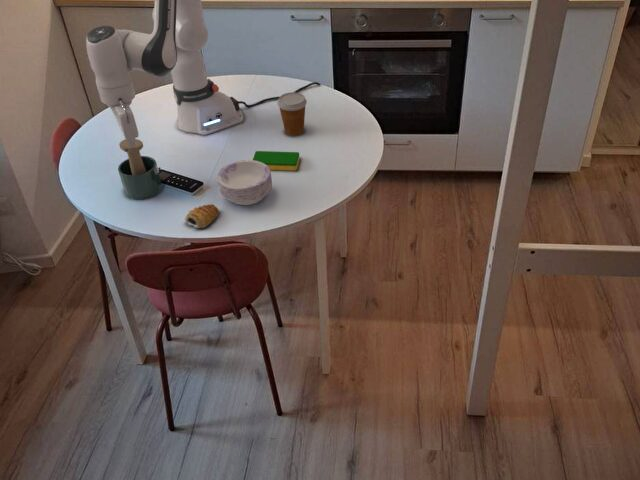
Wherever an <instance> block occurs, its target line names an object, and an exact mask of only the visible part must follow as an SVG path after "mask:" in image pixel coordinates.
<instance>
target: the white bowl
mask: <svg viewBox="0 0 640 480" xmlns="http://www.w3.org/2000/svg"><path fill="white" fill-rule="evenodd" d="M271 171H272V170H270V169H269V167H268V166H267V165H265V164H264V163H262V162H259V161H254V160H253V159H244V160H237V161H233V162H231V163H229V164H228V163H227V165H225V166H224V167H222V168H221V169H220V170H219V171H218V173H217V177H216V180H217V185H218V191H219V193H220V196H222V198H224V199H225V200H227V201H230V202H232V203H234V204H236V205H239V206H250V205H254V204H257V203H259V202H260V201H262V200H263V199H264V197H265V196H267V195H268V194H269V193H270V192H271V190H272V187H273V181H272V172H271Z"/></svg>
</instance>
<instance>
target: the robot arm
mask: <svg viewBox="0 0 640 480" xmlns="http://www.w3.org/2000/svg"><path fill="white" fill-rule="evenodd" d="M153 1H154V8H153V9H152V14H151V15H152V21H153V31H152V32H151V33H145V32H141V31H136V30H131V29H125V28H121V29H117V28H115V27H113V26H112V25H101V26H97V27H94V28H92V29H91V30H89V32H88V33H87V34H86V38H85V46H86V53H87V57H88V61H89V65H90V68H91V71H92V72H93V73H94V76H95V85H96V89H97V92H98V95H99V99H100V101H101V103H102V104H104V105H107V107H108V108H109V109H110V110H111V111H112V114H113V116H114V118H115V120H116V122H117V124H118V126H119V129H120V131H121V133H122V135H123V137H124V140H125V139H127V140H128V144H129V146H130V147H131V148H132V147H136V142H135V139H137V138H139V129H138V126H137V123H136V119H135V115H134V113H133V111H132V108H131V105H132V102H133V100H134V99H135V97H136V92H135V89H134V85H133V81H132V80H133V79H132V77H131V75H130V71H132V70H134V71H140V72H144V73H146V74H150V75H153V76H156V77H160V78H161V77H164V76H166V75H168V74H170V75H171V79H172V84H173V85H172V89H173V90H172V91H173V92H172V93H173V96H174V101H175V103H176V106H177V124H176V125H177V128H178V129H179V130H181V131H183V132H185V133H191V134H199V135H203V136H206V135H207V136H208V135H210V134H212V133H215V132H218V131H221V130H223V129H226V128H229V127H232V126H234V125H237V124H240V123H243V121H244V115H243V112H242V110H241V109H240V104H242V105H244V106H245V108H252V107H255V106H258V105H261V104H262V103H265V102H268V101H273V100H279V97H280V96H281V95H280V96H273V97H272V96H271V97H267V98H264V99H262V100H260V101H258V102H256V103H253V104H247V103H246V102H245V101H243V100H238V99H236V98H235V97H233V96H228V95H227V94H226V93H224V92H221V91H219V90H220V88H219V86H218V85H217V84H215V82H214V81H212V80H211V79H210V78H208V74H207V69H206V64H205V63H206V62H205V59H204V56H203V54H202V52H201V50H202V49H203V48H205V46H206V45H207V43H208V39H209V32H208V28H207V26H206V23H205V18H204V12H203V4H202V0H153ZM314 85H317V86H321V83H319V82H317V81H313V82H310V83H308V84H306V85H303V86H302V87H300V88H297V89H296V90H295V91H294V92H295V93H300V91H302V90H305V89H307V88H308V87H311V86H314Z"/></svg>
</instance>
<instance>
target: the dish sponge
mask: <svg viewBox="0 0 640 480" xmlns="http://www.w3.org/2000/svg"><path fill="white" fill-rule="evenodd" d="M300 159H301V157H300V152H299V151H296V152H295V151H272V150H271V151H270V150H269V151H267V150H265V151H264V150H256V151H255V152H254V155H253V158H252V160H254V161H259V162H262V163H264V164H265V165H267V166H268V167H269V169H270V171H294V172H295V171H296V172H297V171H298V167H299V163H300Z"/></svg>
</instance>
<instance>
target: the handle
mask: <svg viewBox="0 0 640 480" xmlns="http://www.w3.org/2000/svg"><path fill="white" fill-rule="evenodd" d="M135 142H136V147H132V148H131V147H130V146H129V144H128V140H127V139H125V138H124V139H123V140H121V141H119V144H118V145H119V149H120V150H122V151H123V152H125V153H126V154H127V159H129V162H130V167H131V171H132V175H140V174H144V173H146V169H145V166H144V164H143V161H142V158H141V156H142V155H141V150H142V149H143V148H144V143H143V141H142V140H140V139H137V138H135Z"/></svg>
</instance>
